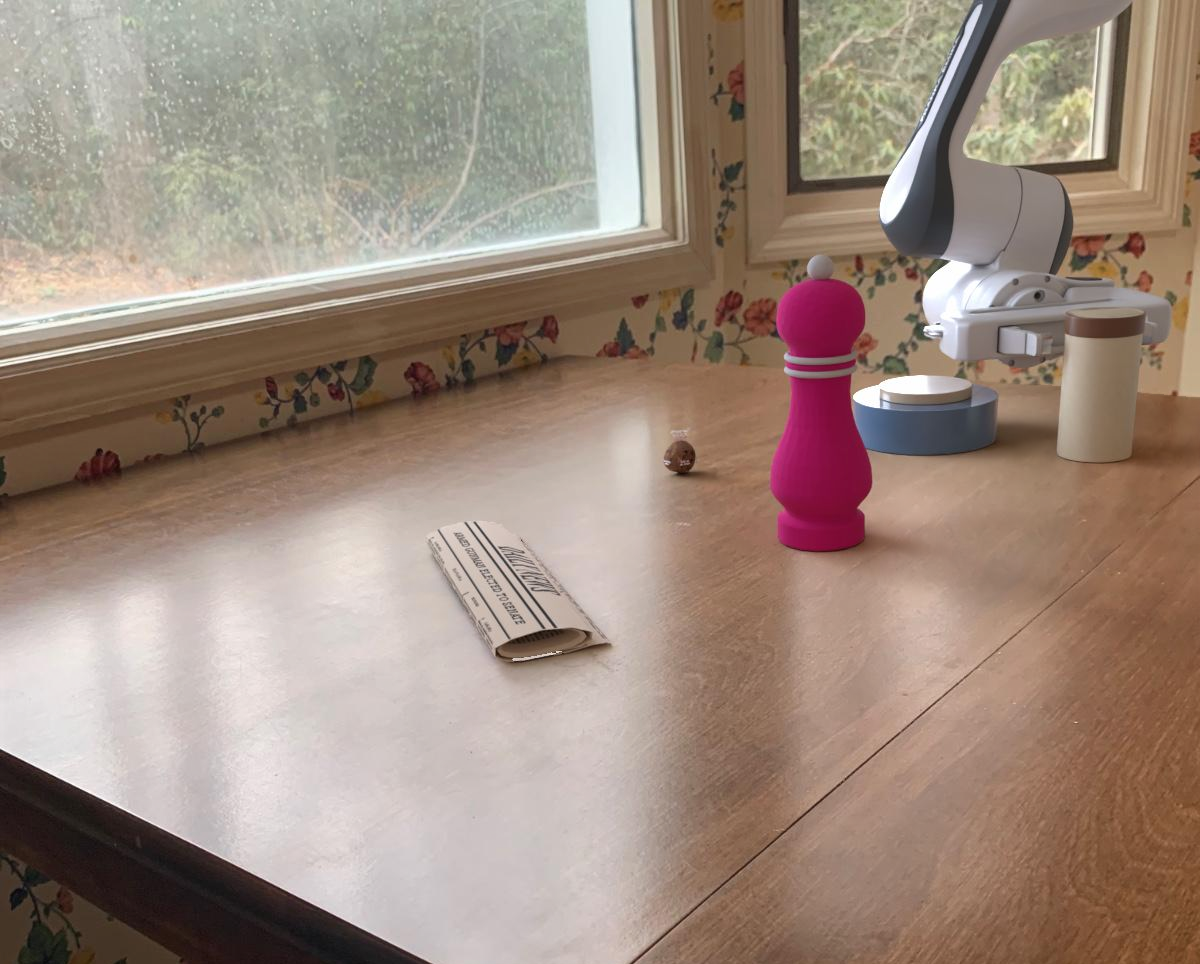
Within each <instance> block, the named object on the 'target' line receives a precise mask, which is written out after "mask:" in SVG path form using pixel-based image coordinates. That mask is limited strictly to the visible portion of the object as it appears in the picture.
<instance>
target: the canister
mask: <svg viewBox="0 0 1200 964" xmlns="http://www.w3.org/2000/svg"><path fill="white" fill-rule="evenodd" d="M1145 320H1146V312H1145V311H1143V310H1140V309H1135V308H1125V307H1093V308H1082V309H1075V310H1071V311H1068V312H1066V313H1065V324H1064V333H1065V342H1064V356H1062V357H1063V358H1062V371H1061V385H1060V386H1061V387H1060V397H1059V398H1060V399H1059V414H1058V426H1057V427H1058V429H1057V440H1056V441H1057V442H1056V455H1057V456H1058V457H1060V458H1063V459H1065V460H1069V461H1073V462H1081V463H1092V464H1094V463H1095V464H1097V463H1099V464H1102V463H1105V464H1106V463H1116V462H1121V461H1125V460H1128V459H1129V458H1131V456H1132V454H1133V453H1132V452H1133V443H1134V432H1135V422H1136V410H1137V400H1138V389H1139V379H1140V369H1141V358H1142V349H1143V348H1142V347H1143V345H1142V338H1143V333H1144V331H1145Z"/></svg>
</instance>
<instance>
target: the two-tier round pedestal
mask: <svg viewBox="0 0 1200 964" xmlns="http://www.w3.org/2000/svg"><path fill="white" fill-rule="evenodd" d="M999 396H1000V395H999V393H998V392H997V391H996V390H994V389H993V388H990V387H988V386H984V385H980V384H976V383H975V384H974V383H973V382H971V381H970V380H967V379H965V378H963V377H962V378H961V377H955V376H947V375H911V376H910V375H909V376H902V377H901V376H900V377H895V378H890V379H887V380H885V381H882V382H880V383H879V384H878V385H873V386H870V387H866V388H863V389H861V390H859V391H857V392H856V393H854V394H853V396H852V411H853V416H854V420H855V423H856V426H857V429H858V431H859V434H860V436H861V438H862V441H863V443H864V445H865V448H866V450H867V449H868V450H871V451H874V452H880V453H885V454H886V453H887V454H893V455H905V456H907V455H908V456H938V455H939V456H941V455H953V454H961V453H967V452H972V451H977V450H979V449H980V450H981V449H983V448H986V447H988V446H990V445H992V444H993V443H995V442H996V440H997V432H998V413H999Z"/></svg>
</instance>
